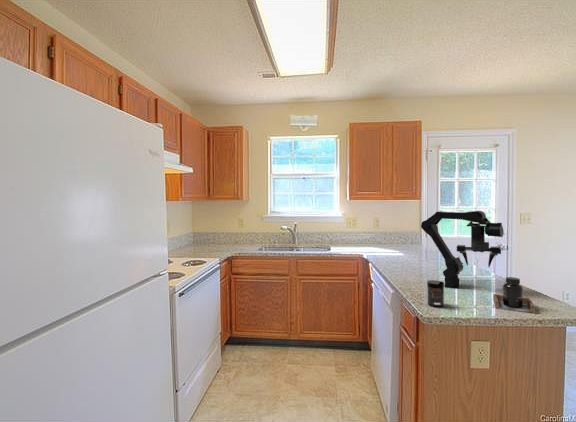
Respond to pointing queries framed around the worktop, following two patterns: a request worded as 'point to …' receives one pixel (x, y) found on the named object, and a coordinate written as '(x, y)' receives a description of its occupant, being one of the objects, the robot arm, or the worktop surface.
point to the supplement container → (435, 293)
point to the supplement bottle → (512, 293)
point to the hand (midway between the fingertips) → (478, 266)
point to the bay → (526, 307)
